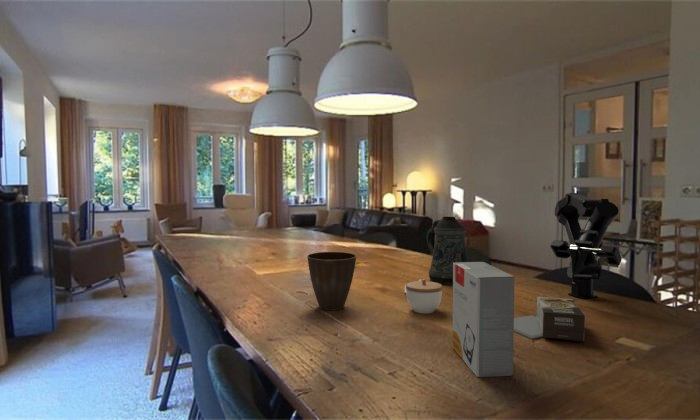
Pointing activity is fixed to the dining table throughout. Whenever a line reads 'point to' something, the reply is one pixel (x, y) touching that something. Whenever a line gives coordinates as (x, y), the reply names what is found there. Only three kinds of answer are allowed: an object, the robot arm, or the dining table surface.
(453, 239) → the beer stein
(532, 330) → the tile
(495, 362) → the hard drive box
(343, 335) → the dining table surface
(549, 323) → the coffee box
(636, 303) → the dining table surface
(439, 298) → the lidded jar
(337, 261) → the plant pot
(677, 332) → the dining table surface
